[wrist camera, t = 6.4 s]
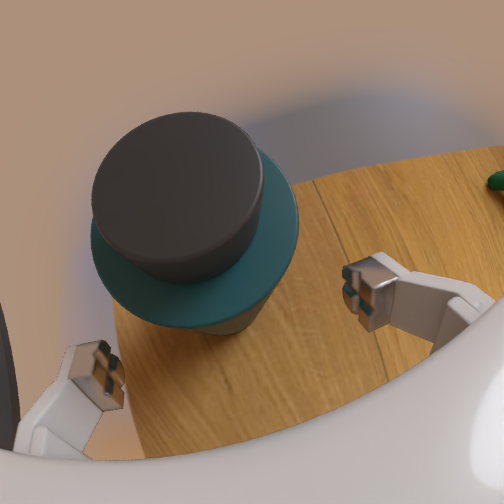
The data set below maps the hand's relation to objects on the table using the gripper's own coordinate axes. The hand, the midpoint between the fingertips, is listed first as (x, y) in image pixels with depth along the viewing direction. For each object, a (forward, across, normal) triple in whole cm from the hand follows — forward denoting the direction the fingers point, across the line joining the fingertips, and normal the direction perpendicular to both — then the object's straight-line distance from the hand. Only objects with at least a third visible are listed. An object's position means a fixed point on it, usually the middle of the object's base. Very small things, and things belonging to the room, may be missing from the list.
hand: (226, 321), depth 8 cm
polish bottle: (+8, 0, +5) cm, 9 cm away
